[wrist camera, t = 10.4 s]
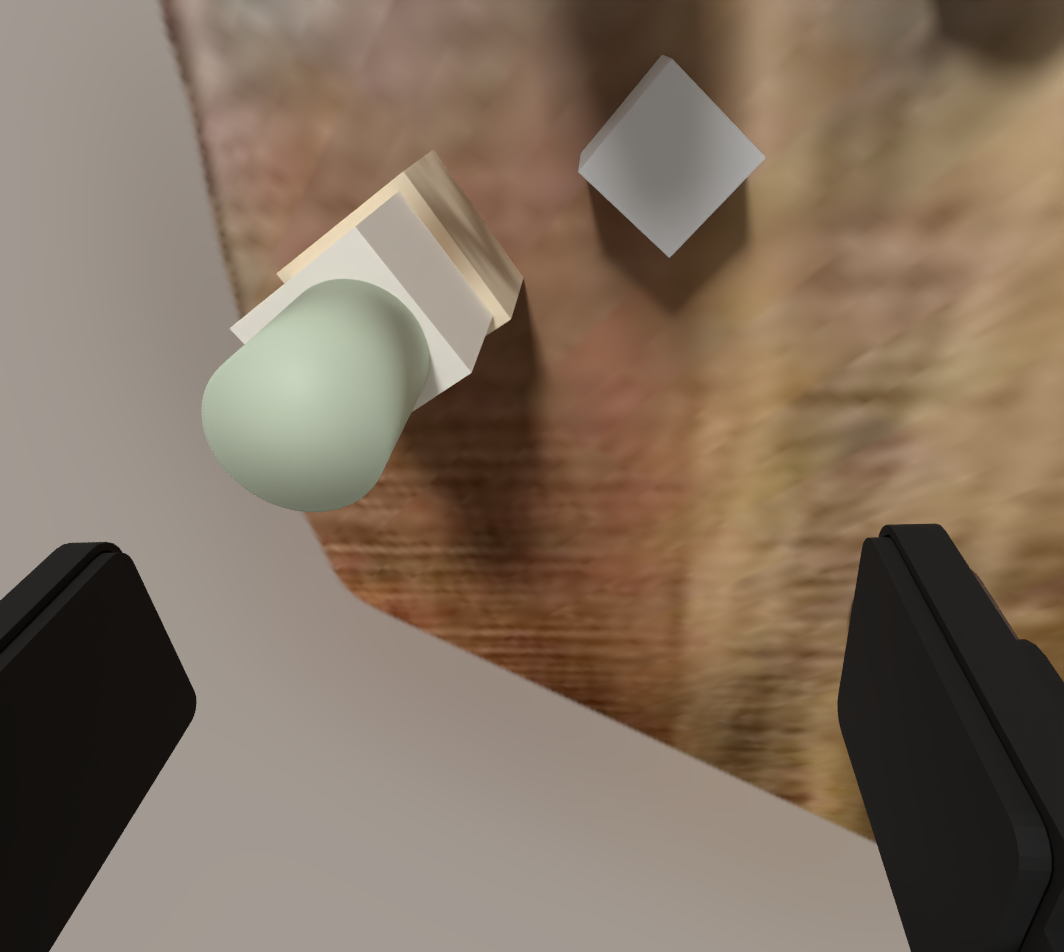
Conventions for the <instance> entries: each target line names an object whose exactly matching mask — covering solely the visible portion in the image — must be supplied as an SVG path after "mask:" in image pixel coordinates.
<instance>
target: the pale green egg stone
mask: <svg viewBox="0 0 1064 952" xmlns="http://www.w3.org/2000/svg"><path fill="white" fill-rule="evenodd" d="M429 362H430V357H429V348H428V344H427V340H426V337H425V335H424V332H423V330H422V328H421V326H420V324H419V322H418V321H417V319H416V318H415V316H414V315H413V313H412V312H411V311H410V310H409V309H408V308H407V306H406V305H405V304H403V303H402V302H401V301H400V300H399V299H398V298H397V297H395V296H394V295H392V294H391V293H390V292H388V291H386V290H384V289H382V288H381V287H379V286H376V285H374V284H371V283H368V282H364V281H360V280H354V279H334V280H328V281H324V282H321V283H318V284H316V285H314V286H311V287H310V288H308V289H307V290H305V291H304V292H303V293H301V294H300V295H299V296H298V297H297V298H296V299H295V300H294V301H293V302H291V303H290V304H289V305H288V306H287V307H286V308H285V309H284V310H282V311H281V312H280V313H279V314H278V315H277V316H276V317H275V318H274V319H272V320H271V321H270V322H269V323H268V324H267V325H266V326H265V327H264V328H262V329H261V330H260V331H259V332H258V333H257V334H256V335H255V336H253V337H252V338H251V339H250V340H249V341H248V342H247V343H246V344H245V345H244V346H242V347H241V348H240V349H239V350H238V351H237V352H236V353H235V354H233V355H232V356H231V357H230V358H229V359H228V360H227V361H226V362H224V363H223V364H222V365H221V366H220V367H219V368H218V369H217V370H216V372H215V373H214V374H213V375H212V377H211V379H210V380H209V382H208V384H207V387H206V389H205V392H204V395H203V401H202V423H203V428H204V432H205V435H206V439H207V441H208V443H209V446H210V448H211V450H212V452H213V454H214V455H215V457H216V459H217V460H218V461H219V463H220V464H221V465H222V467H223V468H224V469H225V470H226V472H227V473H228V474H229V475H230V476H231V477H232V478H233V479H234V480H235V481H237V482H238V483H239V484H240V485H241V486H242V487H244V488H245V489H246V490H248V491H249V492H251V493H252V494H254V495H256V496H258V497H259V498H261V499H263V500H265V501H267V502H270V503H272V504H274V505H277V506H280V507H283V508H287V509H291V510H296V511H303V512H324V511H331V510H336V509H340V508H343V507H345V506H348V505H350V504H352V503H354V502H356V501H358V500H359V499H360V498H362V497H363V496H365V495H366V494H367V493H368V492H369V491H370V490H371V489H372V488H373V487H374V485H375V484H376V483H377V481H378V480H379V478H380V476H381V474H382V472H383V470H384V468H385V466H386V464H387V462H388V460H389V457H390V455H391V453H392V451H393V449H394V447H395V445H396V443H397V441H398V439H399V437H400V435H401V433H402V431H403V429H404V426H405V424H406V422H407V420H408V418H409V416H410V414H411V412H412V410H413V408H414V406H415V404H416V402H417V400H418V398H419V396H420V393H421V391H422V389H423V387H424V385H425V383H426V380H427V377H428V372H429Z"/></svg>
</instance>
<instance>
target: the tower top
mask: <svg viewBox="0 0 1064 952" xmlns="http://www.w3.org/2000/svg"><path fill="white" fill-rule="evenodd" d="M334 279H354V280H360V281H364V282H368V283H371V284H374V285H376V286H379V287H381V288H382V289H384V290H386V291H388V292H390V293H391V294H392V295H394V296H395V297H397V298H398V299H399V300H400V301H401V302H402V303H403V304H405V305H406V306H407V308H408V309H409V310H410V311H411V312H412V313H413V315H414V316H415V318H416V319H417V321H418V322H419V324H420V326H421V328H422V330H423V332H424V335H425V337H426V340H427V344H428V348H429V357H430V362H429V372H428V377H427V380H426V383H425V385H424V387H423V389H422V391H421V393H420V396H419V398H418V400H417V402H416V404H415V406H414V408H413V410H412V412H413V411H415V410H416V409H418V408H419V407H421V406H422V405H424V404H425V403H427V402H428V401H430V400H431V399H433V398H434V397H436V396H437V395H439V394H440V393H442V392H443V391H445V390H446V389H448V388H449V387H451V386H452V385H454V384H455V383H457V382H458V381H460V380H461V379H463V378H464V377H466V376H467V375H469V374H470V373H472V370H473V368H474V365H475V362H476V360H477V357H478V354H479V351H480V349H481V346H482V343H483V341H484V338H485V335H486V333H487V330H488V327H489V325H490V322H491V319H492V316H493V315H492V313H491V312H490V311H489V309H488V308H487V307H486V305H485V304H484V303H483V301H482V300H481V299H480V297H479V296H478V295H477V293H476V292H475V291H474V289H473V288H472V287H471V285H470V284H469V283H468V281H467V280H466V279H465V277H464V276H463V275H462V273H461V272H460V271H459V269H458V268H457V267H456V265H455V264H454V263H453V261H452V260H451V259H450V257H449V256H448V255H447V253H446V252H445V251H444V249H443V248H442V247H441V245H440V244H439V243H438V241H437V240H436V239H435V237H434V236H433V235H432V233H431V232H430V231H429V229H428V228H427V227H426V226H425V224H424V223H423V222H422V220H421V219H420V218H419V216H418V215H417V214H416V212H415V211H414V210H413V208H412V207H411V206H410V204H409V203H408V202H407V200H406V199H405V198H404V196H403V195H402V194H401V192H400V191H398V192H397V193H396V194H394V195H393V196H392V197H391V198H390V199H388V200H387V201H386V202H385V203H383V204H382V205H381V206H380V207H378V208H377V209H376V210H375V211H374V212H372V213H371V214H370V215H369V216H367V217H366V218H365V219H364V220H362V221H361V222H360V223H359V224H358V225H356V226H355V227H354V228H353V229H351V230H350V231H349V232H348V233H346V234H345V235H344V236H343V237H342V238H340V239H339V240H338V241H337V242H335V243H334V244H333V245H332V246H330V247H329V248H328V249H327V250H326V251H324V252H323V253H322V254H321V255H319V256H318V257H317V258H316V259H314V260H313V261H312V262H311V263H310V264H308V265H307V266H306V267H305V268H303V269H302V270H301V271H300V272H298V273H297V274H296V275H295V276H294V277H292V278H291V279H290V280H289V281H287V282H286V283H285V284H284V285H282V286H281V287H280V288H279V289H278V290H276V291H275V292H274V293H273V294H271V295H270V296H269V297H268V298H266V299H265V300H264V301H263V302H262V303H260V304H259V305H258V306H257V307H255V308H254V309H253V310H252V311H250V312H249V313H248V314H247V315H246V316H244V317H243V318H242V319H241V320H239V321H238V322H237V323H236V324H234V325H233V326H232V327H231V328H230V329H231V330H232V331H233V333H234V334H235V335H236V336H237V337H238V338H239V339H240V340H241V341H242V342H243V343H244V344H246V343H247V342H248V341H249V340H250V339H251V338H252V337H253V336H255V335H256V334H257V333H258V332H259V331H260V330H261V329H262V328H264V327H265V326H266V325H267V324H268V323H269V322H270V321H271V320H272V319H274V318H275V317H276V316H277V315H278V314H279V313H280V312H281V311H282V310H284V309H285V308H286V307H287V306H288V305H289V304H290V303H291V302H293V301H294V300H295V299H296V298H297V297H298V296H299V295H300V294H301V293H303V292H304V291H305V290H307V289H308V288H310V287H311V286H314V285H316V284H318V283H321V282H324V281H328V280H334Z"/></svg>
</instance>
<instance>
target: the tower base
mask: <svg viewBox="0 0 1064 952" xmlns="http://www.w3.org/2000/svg"><path fill="white" fill-rule="evenodd" d="M398 191H400V192H401V194H402V195H403V196H404V198H405V199H406V200H407V202H408V203H409V204H410V206H411V207H412V208H413V210H414V211H415V212H416V214H417V215H418V216H419V218H420V219H421V220H422V222H423V223H424V224H425V226H426V227H427V228H428V229H429V231H430V232H431V233H432V235H433V236H434V237H435V239H436V240H437V241H438V243H439V244H440V245H441V247H442V248H443V249H444V251H445V252H446V253H447V255H448V256H449V257H450V259H451V260H452V261H453V263H454V264H455V265H456V267H457V268H458V269H459V271H460V272H461V273H462V275H463V276H464V277H465V279H466V280H467V281H468V283H469V284H470V285H471V287H472V288H473V289H474V291H475V292H476V293H477V295H478V296H479V297H480V299H481V300H482V301H483V303H484V304H485V305H486V307H487V308H488V309H489V311H490V312H491V313H492V315H493V316H492V319H491V322H490V325H489V327H488V330H487V333H486V335H485V336H487V335H488V334H490V333H491V332H493V331H494V330H496V329H497V328H499V327H500V326H502V325H503V324H505V323H506V322H508V321H509V320H511V318H512V315H513V311H514V308H515V305H516V301H517V298H518V295H519V291H520V288H521V285H522V281H523V277H522V275H521V274H520V272H519V271H518V269H517V268H516V267H515V265H514V264H513V262H512V261H511V260H510V258H509V257H508V255H507V254H506V252H505V251H504V250H503V248H502V247H501V245H500V244H499V242H498V241H497V240H496V238H495V237H494V235H493V234H492V232H491V231H490V230H489V228H488V227H487V225H486V224H485V222H484V221H483V220H482V218H481V217H480V215H479V214H478V212H477V211H476V210H475V208H474V207H473V205H472V204H471V203H470V201H469V200H468V198H467V197H466V195H465V194H464V193H463V191H462V190H461V188H460V187H459V185H458V184H457V183H456V181H455V180H454V178H453V177H452V175H451V174H450V173H449V171H448V170H447V168H446V167H445V165H444V164H443V163H442V161H441V160H440V158H439V157H438V156H437V154H436V153H435V151H434V150H432V151H431V152H429V153H428V154H426V155H425V156H424V157H422V158H421V159H420V160H418V161H417V162H416V163H414V164H413V165H411V166H410V167H409V168H407V169H406V170H405V171H403V172H402V173H401V174H400V175H398V176H397V177H396V178H395V179H393V180H392V181H391V182H390V183H388V184H387V185H386V186H385V187H383V188H382V189H381V190H380V191H378V192H377V193H376V194H375V195H374V196H372V197H371V198H370V199H369V200H367V201H366V202H365V203H364V204H362V205H361V206H360V207H359V208H357V209H356V210H355V211H354V212H352V213H351V214H350V215H349V216H347V217H346V218H345V219H344V220H342V221H341V222H340V223H339V224H338V225H336V226H335V227H334V228H333V229H331V230H330V231H329V232H328V233H326V234H325V235H324V236H323V237H321V238H320V239H319V240H318V241H316V242H315V243H314V244H313V245H311V246H310V247H309V248H308V249H306V250H305V251H304V252H303V253H301V254H300V255H299V256H298V257H297V258H295V259H294V260H293V261H292V262H290V263H289V264H288V265H287V266H285V267H284V268H283V269H282V270H280V271H279V272H278V273H277V275H278V276H279V278H280V279H281V280H282V281H283V282H284V283H286V282H287V281H289V280H290V279H291V278H292V277H294V276H295V275H296V274H297V273H298V272H300V271H301V270H302V269H303V268H305V267H306V266H307V265H308V264H310V263H311V262H312V261H313V260H314V259H316V258H317V257H318V256H319V255H321V254H322V253H323V252H324V251H326V250H327V249H328V248H329V247H330V246H332V245H333V244H334V243H335V242H337V241H338V240H339V239H340V238H342V237H343V236H344V235H345V234H346V233H348V232H349V231H350V230H351V229H353V228H354V227H355V226H356V225H358V224H359V223H360V222H361V221H362V220H364V219H365V218H366V217H367V216H369V215H370V214H371V213H372V212H374V211H375V210H376V209H377V208H378V207H380V206H381V205H382V204H383V203H385V202H386V201H387V200H388V199H390V198H391V197H392V196H393V195H394V194H396V193H397V192H398Z"/></svg>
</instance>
